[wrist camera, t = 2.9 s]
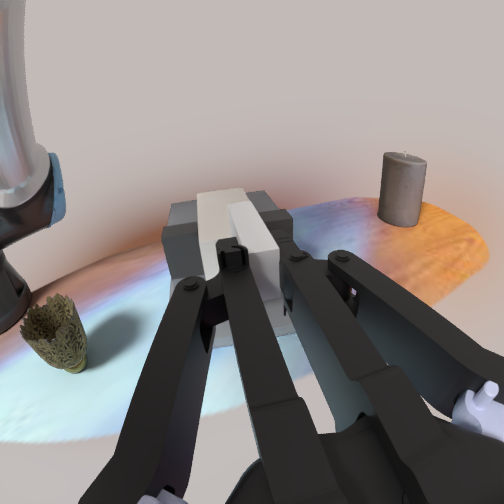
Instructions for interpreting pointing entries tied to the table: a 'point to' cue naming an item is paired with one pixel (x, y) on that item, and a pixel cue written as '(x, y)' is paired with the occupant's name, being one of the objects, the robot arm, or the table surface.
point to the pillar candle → (401, 189)
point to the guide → (190, 261)
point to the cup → (57, 334)
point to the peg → (215, 224)
